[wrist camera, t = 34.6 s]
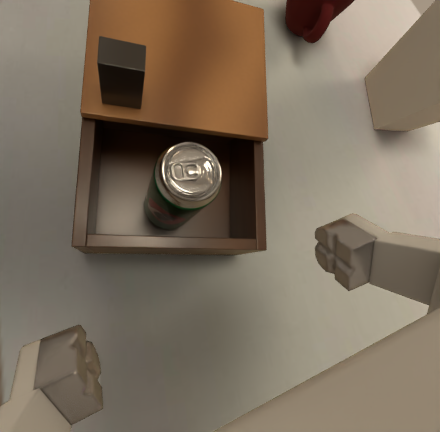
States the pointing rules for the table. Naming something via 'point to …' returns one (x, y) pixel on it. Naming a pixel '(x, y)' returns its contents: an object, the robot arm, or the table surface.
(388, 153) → the table surface
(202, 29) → the sliding lid
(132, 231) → the storage box
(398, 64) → the soap bottle
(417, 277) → the robot arm
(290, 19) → the mug
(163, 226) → the soda can
